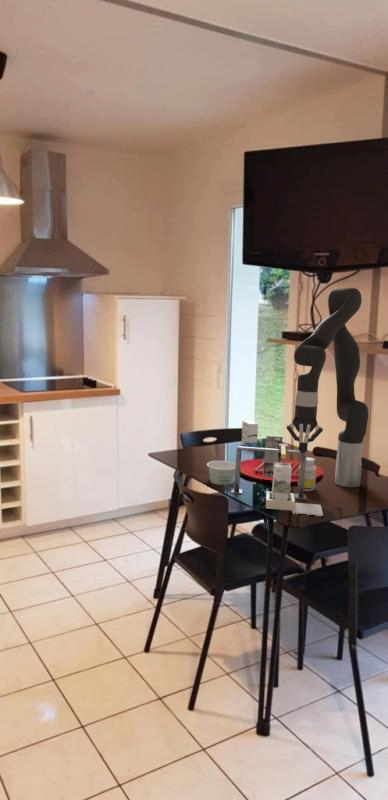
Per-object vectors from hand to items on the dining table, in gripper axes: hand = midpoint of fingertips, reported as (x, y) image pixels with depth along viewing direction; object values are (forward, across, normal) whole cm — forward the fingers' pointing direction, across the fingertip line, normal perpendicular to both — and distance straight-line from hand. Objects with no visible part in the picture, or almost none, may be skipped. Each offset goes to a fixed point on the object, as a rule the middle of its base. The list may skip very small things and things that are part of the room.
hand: (302, 452), depth 213 cm
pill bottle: (+18, -3, -15) cm, 24 cm away
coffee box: (+18, +10, -25) cm, 32 cm away
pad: (+18, -2, +9) cm, 20 cm away
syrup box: (+18, +7, +6) cm, 20 cm away
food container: (+18, +29, -16) cm, 37 cm away
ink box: (+18, +21, -75) cm, 80 cm away
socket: (+18, +7, +6) cm, 20 cm away
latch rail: (+18, +11, -4) cm, 21 cm away
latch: (0, +7, +2) cm, 7 cm away
